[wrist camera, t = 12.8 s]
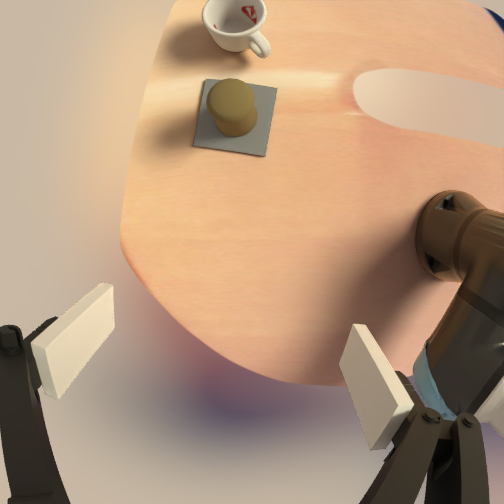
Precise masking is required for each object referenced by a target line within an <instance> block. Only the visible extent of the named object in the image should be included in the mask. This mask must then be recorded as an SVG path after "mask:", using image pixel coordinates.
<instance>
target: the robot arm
mask: <svg viewBox="0 0 504 504" xmlns="http://www.w3.org/2000/svg"><path fill="white" fill-rule="evenodd" d="M416 249H417V254H418V257H419V260H420V262H421V264H422V265H423V267H424V268H425V269H426V270H427V271H428V272H429V273H430V274H432V275H433V276H435V277H436V278H438V279H441V280H444V281H451V282H462V284H461V286H460V287H459V289H458V291H457V293H456V294H455V296H454V298H453V300H452V302H451V304H450V305H449V307H448V309H447V311H446V312H445V314H444V316H443V317H442V319H441V321H440V322H439V324H438V325H437V327H436V328H435V330H434V332H433V333H432V335H431V336H430V338H428V339H427V340H426V342H425V344H424V348H423V349H422V351H421V353H420V354H419V356H418V357H417V359H416V361H415V363H414V365H413V379H414V383H415V385H416V388H417V389H418V392H419V394H420V395H421V396H422V398H423V400H424V401H425V402H426V403H427V405H428V406H429V407H430V408H426V407H425V406H424V404H423V402H422V401H421V399H420V398H419V396H418V395H417V393H416V391H414V388H413V386H412V385H411V383H410V382H409V380H408V378H407V377H406V376H405V375H404V374H402V373H401V372H400V371H394V370H393V368H392V366H391V365H390V363H389V361H388V360H387V358H386V357H385V355H384V353H383V352H382V350H381V349H380V347H379V345H378V344H377V342H376V341H375V339H374V338H373V336H372V334H371V333H370V331H369V330H368V328H367V327H366V325H362V324H353V325H352V328H351V331H350V334H349V337H348V340H347V343H346V345H345V348H344V351H343V354H342V357H341V359H340V362H339V366H340V369H341V371H342V374H343V377H344V379H345V382H346V385H347V387H348V390H349V393H350V395H351V398H352V401H353V403H354V406H355V409H356V411H357V414H358V417H359V420H360V423H361V425H362V428H363V431H364V434H365V437H366V439H367V442H368V445H369V448H370V450H380V449H386V447H387V446H388V445H389V443H390V441H391V440H392V442H393V444H394V448H393V449H392V450H391V452H390V453H389V455H388V456H387V457H386V458H385V460H384V462H385V463H384V464H383V466H382V468H381V470H380V471H379V473H378V475H377V476H376V478H375V480H374V481H373V483H372V485H371V486H370V488H369V489H368V491H367V492H366V494H365V495H364V497H363V499H362V500H361V501H360V503H359V504H414V502H415V500H416V497H417V495H418V493H419V491H420V488H421V486H422V483H423V481H424V478H425V476H426V473H427V482H426V483H427V484H426V493H425V501H424V504H490V503H489V485H488V474H487V465H486V457H485V450H484V443H483V438H482V432H481V426H480V422H486V423H488V424H489V425H490V426H491V427H492V428H493V429H494V430H495V431H496V432H497V433H498V434H499V435H500V436H501V437H503V439H504V213H501V212H497V211H494V210H489V209H487V208H486V207H485V206H484V205H482V204H481V203H480V202H479V201H478V200H477V199H475V198H474V197H473V196H471V195H470V194H468V193H465V192H461V191H455V190H448V191H444V192H442V193H440V194H438V195H436V196H435V197H434V198H433V199H432V200H431V201H430V202H429V203H428V204H427V206H426V207H425V209H424V210H423V212H422V214H421V217H420V219H419V222H418V226H417V231H416ZM114 325H115V324H114V299H113V285H111V284H106V283H100V284H99V285H98V286H96V287H95V288H94V289H93V290H91V291H90V292H89V293H88V294H86V295H85V296H84V297H83V298H82V299H80V300H79V301H78V302H77V303H76V304H74V305H73V306H72V307H71V308H70V309H69V310H67V311H66V312H65V313H64V314H63V315H61V316H60V317H59V318H58V317H53V318H50V319H48V320H46V321H45V322H44V323H43V324H41V326H39V327H38V328H37V329H36V331H33V332H32V333H31V334H30V335H29V336H27V337H26V338H25V339H24V340H23V336H22V332H21V330H20V328H19V327H18V326H15V325H4V326H2V327H0V431H1V440H2V448H3V455H4V461H5V467H6V471H7V476H8V482H9V486H10V490H11V498H8V504H70V501H69V499H68V496H67V494H66V491H65V488H64V486H63V483H62V480H61V477H60V474H59V471H58V468H57V465H56V462H55V459H54V456H53V452H52V449H51V445H50V441H49V437H48V434H47V430H46V426H45V421H44V417H43V412H42V407H41V402H40V396H39V393H38V388H39V387H40V386H41V385H42V387H43V390H44V393H45V395H48V396H50V397H52V398H54V399H57V400H59V399H60V398H61V396H62V395H63V394H64V392H65V391H66V390H67V388H68V387H69V386H70V384H71V383H72V382H73V380H74V379H75V378H76V377H77V375H78V374H79V373H80V371H81V370H82V369H83V367H84V366H85V365H86V364H87V362H88V361H89V360H90V358H91V357H92V356H93V355H94V353H95V352H96V351H97V350H98V348H99V347H100V346H101V345H102V343H103V342H104V341H105V340H106V338H107V337H108V336H109V335H110V333H111V332H112V331H113V330H114V329H115V326H114ZM441 415H442V416H441ZM442 417H443V418H444V419H445V420H444V419H443V418H442Z"/></svg>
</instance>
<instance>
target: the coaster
mask: <svg viewBox="0 0 504 504" xmlns="http://www.w3.org/2000/svg"><path fill="white" fill-rule="evenodd" d="M219 81H221V80H215V79H206V81H205V86H204V91H203V96H202V101H201V106H200V111H199V116H198V121H197V127H196V132H195V138H194V144H193V146H199V147H207V148H214V149H222V150H228V151H235V152H242V153H248V154H254V155H260V156H265V155H266V149H267V143H268V138H269V132H270V127H271V121H272V115H273V110H274V104H275V99H276V93H277V88H273V87H267V86H261V85H255V84H248V83H246V84H247V85H248V86H250V88H251V89H252V91H253V92H254V97H255V105H254V106H255V107H256V110H257V114H258V117H257V123H256V125H255V127H254V128H253V129H252V130H251V131H250V132H249V133H248V134H246V135H244V136H240V137H229V136H227V135H224V134H223V133H221V132H220V131H219V130H218V129H217V127H216V125H215V123H214V118H213V117H212V116H211V115H210V113H209V112H208V110H207V105H206V99H207V95H208V93H209V91H210V89H211V88H212V87H213V86H214V84H216V83H217V82H219Z"/></svg>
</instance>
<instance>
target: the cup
mask: <svg viewBox="0 0 504 504" xmlns="http://www.w3.org/2000/svg"><path fill="white" fill-rule="evenodd" d="M266 15H267V11H266V6H265V4H264V2H263V1H262V0H208V1H207V3H206V4H205V6H204V8H203V10H202V20H203V23H204V25H205V27H206V28H207V30H208V31H209V33H210V34H211V36H212V37H213V39H214V40H215V42H216V43H217V44H218V45H219V46H220V47H221V48H223V49H225V50H228V51H232V52H240V51H244V50H247V49H249V48H250V49H251V50H252V51H253V52H254V53H255V54H256V55H257V56H259V57H260V58H266V57H268V56H269V55H270V54H271V46H270V44H269V43H268V41H267V40H266V39H265V38H264V36H263V35H262V34H261V32H262V29H263V25H264V22H265V19H266Z"/></svg>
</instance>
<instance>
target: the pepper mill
mask: <svg viewBox="0 0 504 504" xmlns="http://www.w3.org/2000/svg"><path fill="white" fill-rule="evenodd" d="M206 105H207V110H208V112H209V113H210V115H211V116H212V117H213V118H214V123H215V125H216V127H217V129H218V130H219V131H220V132H221V133H223V134H224V135H227V136H229V137H240V136H244V135H246V134H248V133H249V132H250V131H251V130H252V129H253V128H254V127H255V125H256V123H257V117H258V114H257V110H256V107H255V106H254V105H255V97H254V92H253V91H252V89H251V88H250V86H248V85H247V84H246V83H245V82H243V81H241V80H238V79H230V78H229V79H224V80H221V81H219V82H217V83H216V84H214V86H213V87H212V88H211V89H210V91H209V93H208V95H207V99H206Z"/></svg>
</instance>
